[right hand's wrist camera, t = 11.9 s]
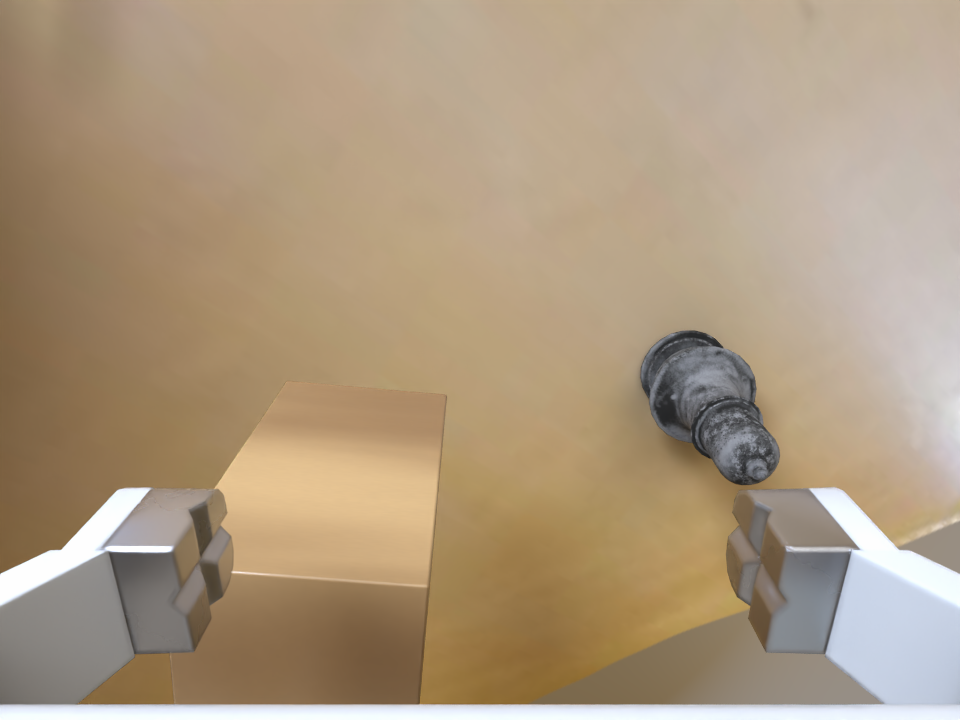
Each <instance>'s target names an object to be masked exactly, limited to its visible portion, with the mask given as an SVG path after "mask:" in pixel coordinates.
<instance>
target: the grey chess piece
mask: <svg viewBox="0 0 960 720" xmlns="http://www.w3.org/2000/svg"><path fill="white" fill-rule="evenodd" d="M641 382H642V387H643V389H644V391H645V393H646V394H647V396H648V398H649V404H650V409H651V414H652V416H653V418H654V420H655V421H656V423H657V425H658V426H659V427H660V428H661V429H662V430H663V431H664V432H665V433H666V434H667V435H669V436H671V437H673V438H675V439H677V440H680V441H685V442H689V443H693V444H694V446H695V448H696V449H697V450H698V451H699V452H700V453H701V454H702V455H704V456H706V457H708V458H710V459H712V460H713V462H714V463H715V465H716V467H717V468H718V470H719V471H720V473H721V474H722V475H723V476H724V477H725V478H726V479H728V480H729V481H731V482H733V483H735V484H739V485H752V484H756V483H759V482H761V481H763V480H765V479H766V478H768V477H769V476H770V475H771V474H772V473H773V472H774V470H775V469H776V467H777V465H778V463H779V458H780V452H779V447H778V445H777V443H776V440H775V439H774V438H773V436H772V435H771V434H770V433H769V432H768V431H767V430H766V428H765V427H764V426H763V417H762V414H761V412H760V410H759V408H758V407H757V406H756V405H755V404H754V402H755V395H756V383H755V377H754V375H753V373H752V370H751V368H750V366H749V365H748V364H747V363H746V362H745V361H744V360H743V359H742V358H741V357H740V356H739V355H737V354H735V353H734V352H732V351H730V350H728V349H724V348H723V346H722V345H721V344H720V343H719V342H718V341H717V340H716V339H715V338H713V337H711V336H709V335H708V334H706V333H702V332H698V331H680V332H676V333H673V334H670V335H668V336H666V337H664V338H663V339H661V340H659V341H658V342H657V343H656V344H655V345H654V346H653V347H652V348H651V349H650V351H649V352H648V353H647V355H646V356H645V359H644V361H643V364H642V367H641Z"/></svg>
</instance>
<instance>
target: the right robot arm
mask: <svg viewBox="0 0 960 720" xmlns="http://www.w3.org/2000/svg"><path fill="white" fill-rule="evenodd" d="M227 513H228V512H227V507H226V502H225V497H224V494H223V493H222V492H221V491H220V490H219V489H188V488H156V489H155V488H123V489H119V490H117V491H116V492H115V493H114V494H113V495H112V496H111V497H110V498H109V499H108V501H107V502H106V503H105V504H104V505H103V506H102V507H101V508H100V509H99V510H98V511H97V512H96V513H95V514H94V515H93V517H92V518H91V519H90V520H89V521H88V522H87V523H86V524H85V525H84V526H83V527H82V528H81V529H80V530H79V531H78V533H77V534H76V535H75V536H74V537H73V538H72V539H71V540H70V541H69V542H68V543H67V544H66V545H65V546H64V547H63V549H62V550H50V551H48V552H46V553H43V554H41V555H39V556H37V557H35V558H33V559H31V560H29V561H26V562H24V563H22V564H20V565H18V566H16V567H14V568H11V569H9V570H7V571H5V572H3V573H1V574H0V720H960V574H959V573H957V572H955V571H953V570H950V569H948V568H946V567H944V566H942V565H940V564H938V563H936V562H934V561H931V560H929V559H927V558H925V557H923V556H921V555H919V554H917V553H914V552H912V551H910V550H898V549H897V547H896V546H895V545H894V544H893V543H892V542H891V541H890V540H889V539H888V538H887V537H886V536H885V535H884V534H883V532H882V531H881V530H880V529H879V528H878V527H877V526H876V525H875V524H874V523H873V522H872V521H871V520H870V519H869V518H868V516H867V515H866V514H865V513H864V512H863V511H862V510H861V509H860V508H859V507H858V506H857V505H856V504H855V503H854V502H853V500H852V499H851V498H850V497H849V496H848V495H847V494H846V493H845V492H844V491H843V490H841V489H838V488H836V487H828V488H803V489H768V490H739V491H738V493H737V496H736V498H735V501H734V506H733V512H732V513H733V515H734V516H735V518H736V520H737V521H738V523H739V526H738V527H737V528H736V529H735V530H734V531H733V532H732V533H731V534H730V535H729V536H728V543H727V551H726V561H727V572H728V576H729V579H730V582H731V585H732V588H733V590H734V592H735V594H736V596H737V597H738V598H739V599H741V600H742V601H744V602H745V603H747V604H748V605H750V611H749V617H748V619H749V621H750V623H751V625H752V627H753V629H754V630H755V632H756V634H757V636H758V638H759V640H760V642H761V644H762V646H763V648H764V649H765V651H766V652H768V653H804V654H825V657H826V658H827V659H828V660H830V661H831V662H832V663H833V664H835V665H836V666H837V667H838V668H839V669H841V670H842V671H843V672H844V673H846V674H847V675H848V676H849V677H850V678H852V679H853V680H854V681H855V682H857V683H858V684H859V685H860V686H862V687H863V688H864V689H865V690H867V691H868V692H869V693H870V694H871V695H873V696H874V697H875V698H876V699H878V700H879V701H880V702H881V703H883V704H78V703H79V702H80V701H81V700H83V699H84V698H85V697H86V696H88V695H89V694H90V693H91V692H92V691H94V690H95V689H96V688H97V687H99V686H100V685H101V684H102V683H104V682H105V681H106V680H107V679H109V678H110V677H111V676H112V675H113V674H115V673H116V672H117V671H118V670H120V669H121V668H122V667H123V666H125V665H126V664H127V663H128V662H130V661H131V660H132V659H133V658H134V657H135V654H155V653H190V652H194V651H195V650H196V648H197V646H198V644H199V642H200V640H201V638H202V636H203V634H204V632H205V630H206V629H207V627H208V625H209V623H210V621H211V619H212V617H211V611H210V605H212V604H213V603H215V602H216V601H218V600H219V599H221V598H222V597H223V596H224V594H225V592H226V589H227V587H228V585H229V583H230V579H231V574H232V570H233V565H234V548H233V542H232V536H231V535H230V534H229V533H228V532H227V531H226V530H225V529H224V528H223V527H222V526H221V523H222V521H223V520H224V518H225V516H226V515H227Z"/></svg>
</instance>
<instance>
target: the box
mask: <svg viewBox="0 0 960 720" xmlns="http://www.w3.org/2000/svg"><path fill="white" fill-rule="evenodd" d="M446 400H447V396H446V395H444V394H432V393H421V392H409V391H397V390H386V389H374V388H363V387H351V386H340V385H328V384H317V383H305V382H294V381H286V383H285V384H284V386H283V387H282V389H281V390H280V392H279V393H278V395H277V396H276V398H275V399H274V401H273V402H272V403H271V405H270V406H269V408H268V409H267V411H266V412H265V414H264V415H263V417H262V418H261V420H260V421H259V423H258V424H257V426H256V427H255V429H254V430H253V432H252V433H251V435H250V436H249V438H248V439H247V441H246V442H245V444H244V445H243V447H242V448H241V450H240V451H239V453H238V454H237V455H236V457H235V458H234V460H233V461H232V463H231V464H230V466H229V467H228V469H227V470H226V472H225V473H224V475H223V476H222V478H221V479H220V481H219V482H218V484H217V485H216V487H215V488H214V489H219V490H220V491H221V492H222V493H223V494H224V497H225V502H226V507H227V512H228V513H227V515H226V516H225V518H224V520H223V521H222V523H221V526H222V527H223V528H224V529H225V530H226V531H227V532H228V533H229V534H230V535H231V536H232V542H233V548H234V565H233V570H232V574H231V579H230V583H229V585H228V587H227V589H226V592H225V594H224V596H223V597H222V598H221V599H219V600H218V601H216V602H215V603H213V604H212V605H210V611H211V617H212V619H211V621H210V623H209V625H208V627H207V629H206V630H205V632H204V634H203V636H202V638H201V640H200V642H199V644H198V646H197V648H196V650H195V651H194V652H190V653H170V663H171V674H172V685H173V695H174V704H420V693H421V682H422V671H423V659H424V648H425V637H426V626H427V614H428V603H429V592H430V580H431V569H432V558H433V547H434V535H435V524H436V513H437V501H438V490H439V479H440V468H441V456H442V445H443V434H444V422H445V411H446Z"/></svg>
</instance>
